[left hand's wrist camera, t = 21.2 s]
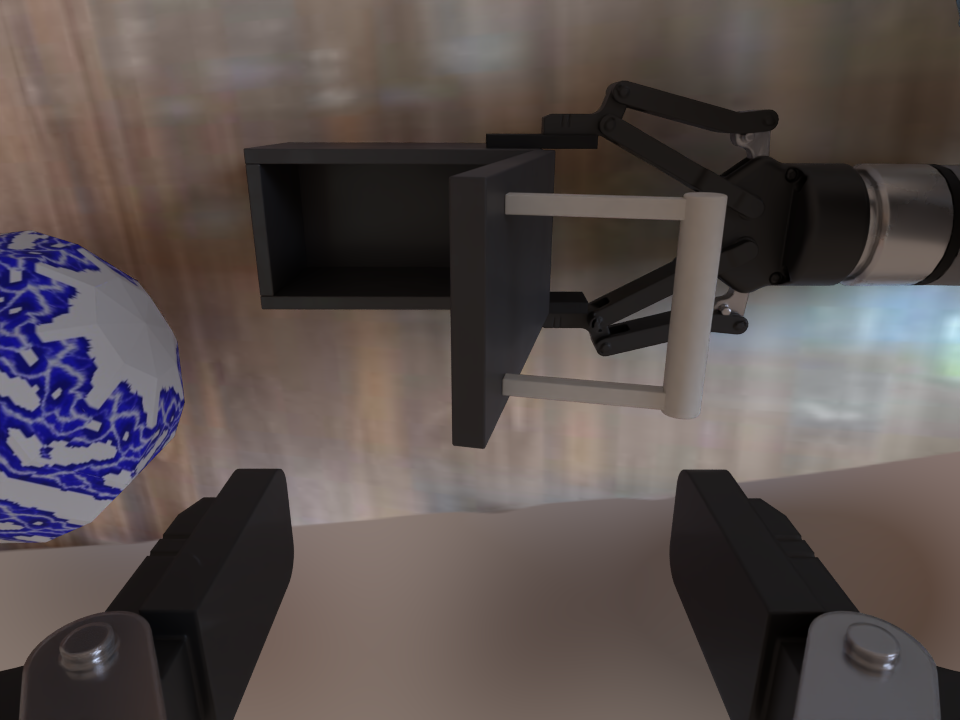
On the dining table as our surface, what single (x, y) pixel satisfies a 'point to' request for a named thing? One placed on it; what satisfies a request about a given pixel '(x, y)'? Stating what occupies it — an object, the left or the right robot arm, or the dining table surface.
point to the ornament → (76, 385)
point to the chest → (357, 222)
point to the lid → (526, 290)
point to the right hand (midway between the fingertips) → (485, 225)
